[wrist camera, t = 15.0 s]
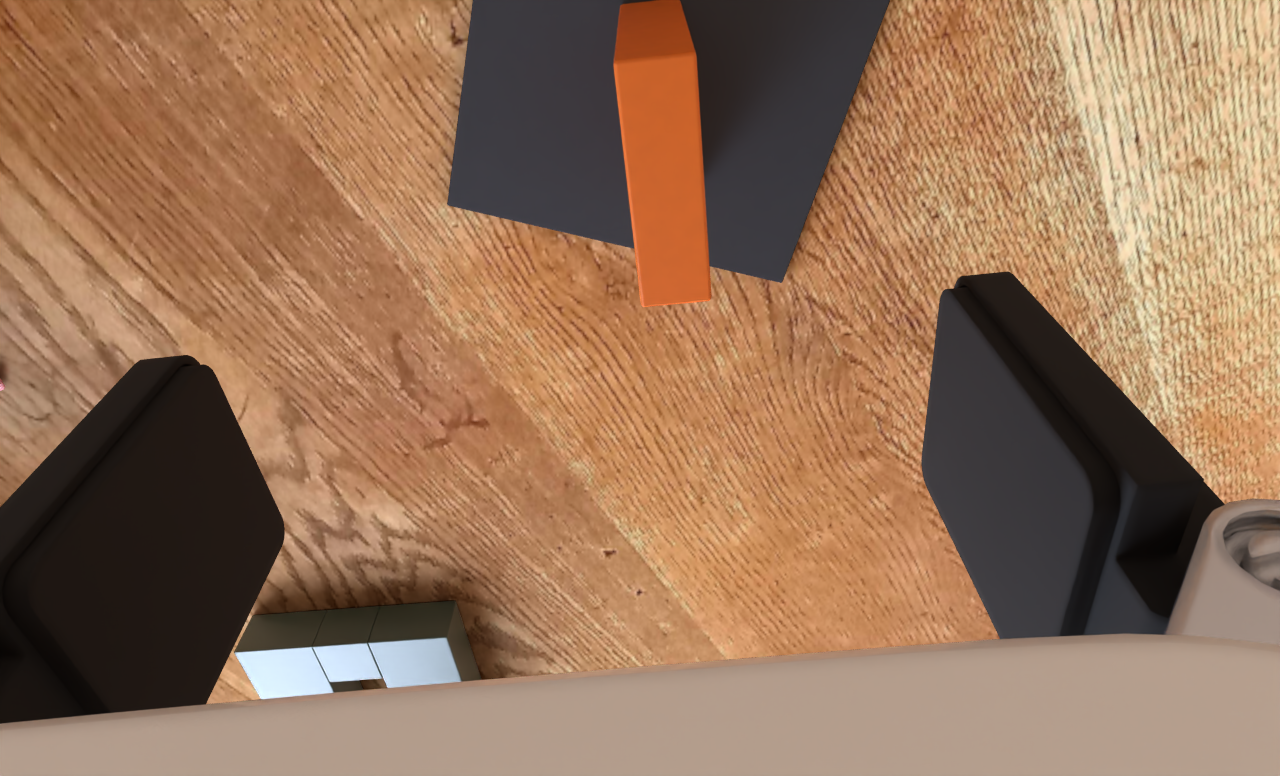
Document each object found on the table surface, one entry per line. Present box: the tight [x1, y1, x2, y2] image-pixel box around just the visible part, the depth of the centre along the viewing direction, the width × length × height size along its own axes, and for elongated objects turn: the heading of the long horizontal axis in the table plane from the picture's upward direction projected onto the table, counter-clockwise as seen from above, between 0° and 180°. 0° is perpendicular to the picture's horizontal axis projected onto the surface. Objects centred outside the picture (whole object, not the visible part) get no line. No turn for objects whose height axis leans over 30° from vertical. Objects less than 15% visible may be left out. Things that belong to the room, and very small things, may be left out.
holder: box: [234, 601, 482, 699], centre depth 41 cm, size 10×12×2 cm
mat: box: [447, 0, 890, 283], centre depth 26 cm, size 12×10×1 cm
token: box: [613, 0, 711, 307], centre depth 22 cm, size 2×6×8 cm, turn 6°
